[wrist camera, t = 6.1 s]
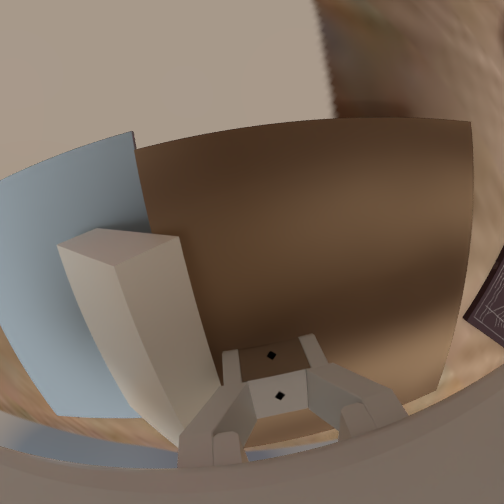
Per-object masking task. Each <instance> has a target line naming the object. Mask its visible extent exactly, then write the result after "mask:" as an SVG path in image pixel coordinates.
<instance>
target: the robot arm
mask: <svg viewBox="0 0 504 504" xmlns="http://www.w3.org/2000/svg"><path fill="white" fill-rule="evenodd" d="M222 363H223V382H224V386H219V387H218V389H217V390H216V391H215V392H214V394H213V395H212V396H211V397H210V399H209V400H208V401H207V402H206V404H205V405H204V406H203V407H202V409H201V410H200V411H199V412H198V414H197V415H196V416H195V417H194V418H193V420H192V421H191V422H190V423H189V425H188V426H187V427H186V428H185V429H184V431H183V432H182V433H181V434H180V435H179V448H178V464H177V466H178V467H177V468H176V469H140V468H119V467H106V466H96V465H87V464H79V463H73V462H66V461H60V460H54V459H50V458H45V457H40V456H35V455H31V454H27V453H23V452H19V451H15V450H12V449H8V448H4V447H1V446H0V504H504V364H502V365H501V366H500V367H498V368H497V369H495V370H493V371H492V372H490V373H489V374H487V375H486V376H484V377H482V378H481V379H479V380H478V381H476V382H474V383H472V384H471V385H469V386H467V387H466V388H464V389H462V390H460V391H458V392H457V393H455V394H453V395H451V396H449V397H447V398H445V399H443V400H442V401H440V402H438V403H436V404H434V405H431V406H429V407H427V408H425V409H423V410H421V411H419V412H417V413H414V414H412V415H410V416H408V414H407V412H406V411H405V409H404V408H403V406H402V405H401V403H400V401H399V400H398V398H397V397H396V395H395V394H394V392H393V390H392V389H390V388H387V387H385V386H383V385H381V384H378V383H376V382H374V381H372V380H370V379H367V378H365V377H363V376H361V375H359V374H356V373H354V372H352V371H350V370H348V369H346V368H344V367H341V366H339V365H337V364H335V363H328V361H327V359H326V357H325V355H324V353H323V351H322V349H321V347H320V345H319V343H318V341H317V339H316V337H315V335H314V334H313V333H311V334H307V335H304V336H300V337H298V338H293V339H289V340H284V341H280V342H275V343H270V344H264V345H258V346H253V347H247V348H240V349H235V350H229V351H223V353H222ZM306 408H309V410H311V411H312V412H313V413H315V414H316V415H317V416H319V417H320V418H321V419H323V420H324V421H325V422H327V423H328V424H330V425H331V426H332V427H334V428H335V429H336V430H338V431H339V437H338V442H336V443H333V444H330V445H326V446H322V447H319V448H315V449H311V450H307V451H303V452H298V453H294V454H289V455H285V456H280V457H275V458H269V459H264V460H258V461H252V462H249V461H248V458H247V456H246V453H245V450H244V448H243V447H244V445H245V443H246V442H247V440H248V438H249V436H250V434H251V432H252V430H253V428H254V426H255V424H256V422H257V419H260V418H264V417H269V416H273V415H278V414H282V413H287V412H292V411H297V410H302V409H306Z"/></svg>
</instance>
